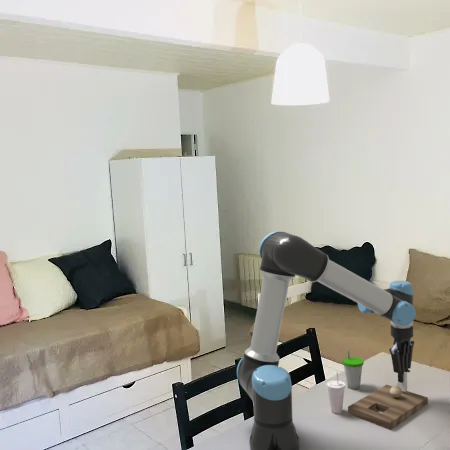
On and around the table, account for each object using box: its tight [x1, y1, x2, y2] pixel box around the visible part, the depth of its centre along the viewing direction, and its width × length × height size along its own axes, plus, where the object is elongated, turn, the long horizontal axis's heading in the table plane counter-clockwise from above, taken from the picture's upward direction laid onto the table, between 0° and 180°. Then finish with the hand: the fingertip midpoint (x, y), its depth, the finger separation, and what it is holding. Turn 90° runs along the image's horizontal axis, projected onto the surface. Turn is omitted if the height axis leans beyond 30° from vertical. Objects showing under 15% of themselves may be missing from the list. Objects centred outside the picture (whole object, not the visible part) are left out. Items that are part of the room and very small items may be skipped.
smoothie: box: [325, 371, 346, 415], centre depth 177 cm, size 6×6×14 cm
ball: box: [390, 385, 402, 398], centre depth 180 cm, size 4×4×4 cm
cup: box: [342, 345, 364, 390], centre depth 196 cm, size 8×8×15 cm
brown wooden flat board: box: [347, 384, 429, 431], centre depth 177 cm, size 24×16×2 cm, turn 131°
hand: (402, 389), depth 183 cm, fingers closed
